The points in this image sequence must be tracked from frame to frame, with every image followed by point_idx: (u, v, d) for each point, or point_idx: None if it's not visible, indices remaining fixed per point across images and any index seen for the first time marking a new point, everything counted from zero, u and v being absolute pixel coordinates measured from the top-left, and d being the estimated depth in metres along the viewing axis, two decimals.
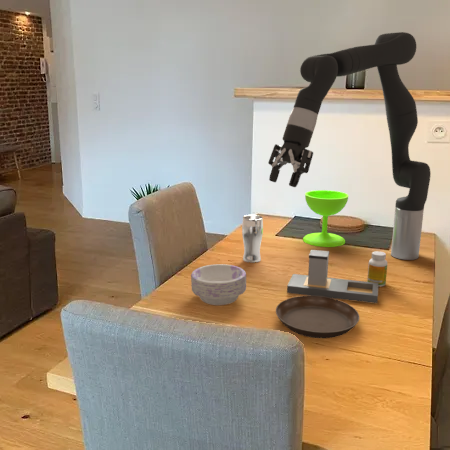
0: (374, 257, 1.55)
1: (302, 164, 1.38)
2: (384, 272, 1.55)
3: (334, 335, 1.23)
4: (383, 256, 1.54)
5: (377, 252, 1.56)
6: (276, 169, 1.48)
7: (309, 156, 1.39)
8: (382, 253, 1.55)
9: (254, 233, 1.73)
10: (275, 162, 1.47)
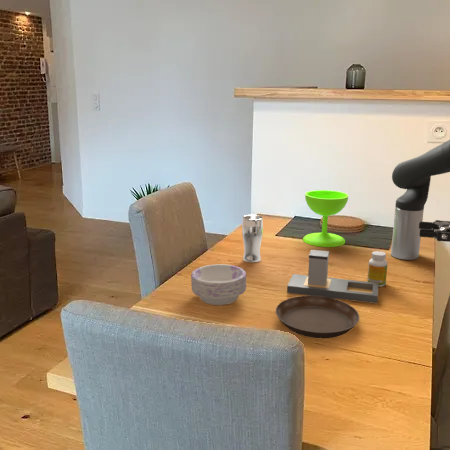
0: (374, 257, 1.55)
1: None
2: (384, 272, 1.55)
3: (334, 335, 1.23)
4: (383, 256, 1.54)
5: (377, 252, 1.56)
6: None
7: None
8: (382, 253, 1.55)
9: (254, 233, 1.73)
10: None
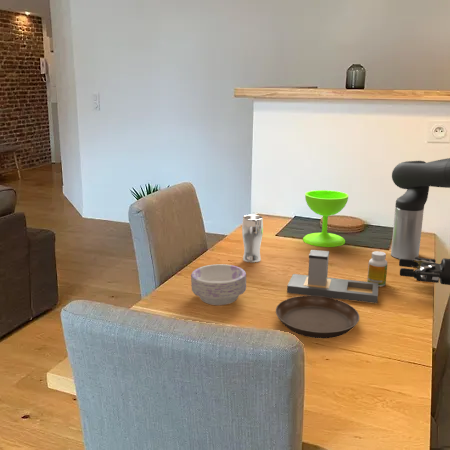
0: (374, 257, 1.55)
1: None
2: (384, 272, 1.55)
3: (334, 335, 1.23)
4: (383, 256, 1.54)
5: (377, 252, 1.56)
6: None
7: None
8: (382, 253, 1.55)
9: (254, 233, 1.73)
10: None
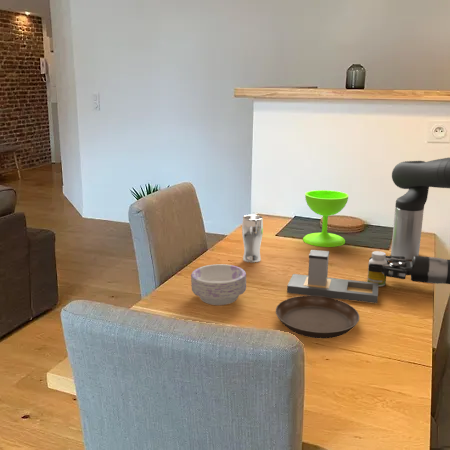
0: (374, 257, 1.55)
1: None
2: None
3: (334, 335, 1.23)
4: (383, 256, 1.54)
5: (377, 252, 1.57)
6: None
7: None
8: (382, 253, 1.55)
9: (254, 233, 1.73)
10: None
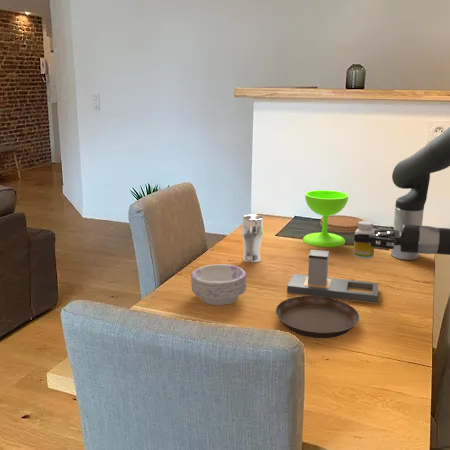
0: (360, 227, 1.43)
1: None
2: None
3: (334, 335, 1.23)
4: (370, 225, 1.43)
5: (364, 221, 1.45)
6: None
7: None
8: (369, 223, 1.44)
9: (254, 233, 1.73)
10: None
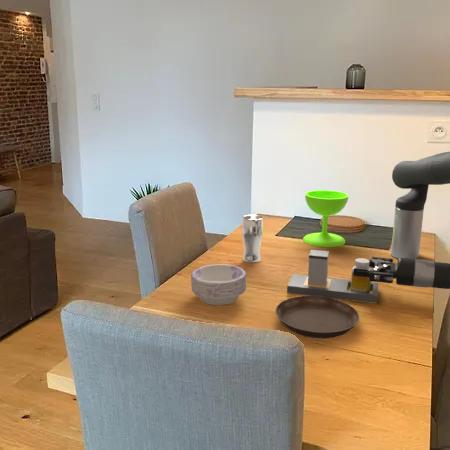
0: (357, 265, 1.47)
1: None
2: (368, 280, 1.47)
3: (334, 335, 1.23)
4: (367, 263, 1.46)
5: (361, 259, 1.48)
6: None
7: None
8: (365, 261, 1.47)
9: (254, 233, 1.73)
10: None
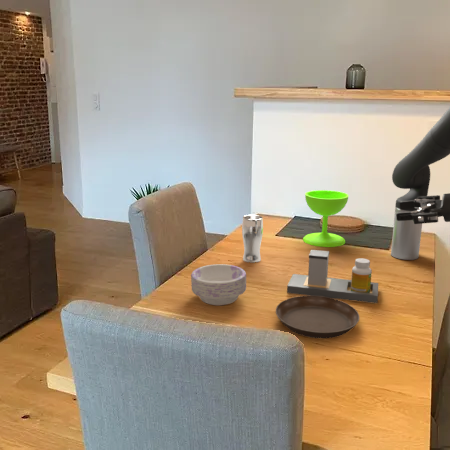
0: (357, 265, 1.46)
1: None
2: (368, 280, 1.47)
3: (334, 335, 1.23)
4: (367, 264, 1.46)
5: (361, 259, 1.48)
6: None
7: None
8: (366, 261, 1.47)
9: (254, 233, 1.73)
10: None
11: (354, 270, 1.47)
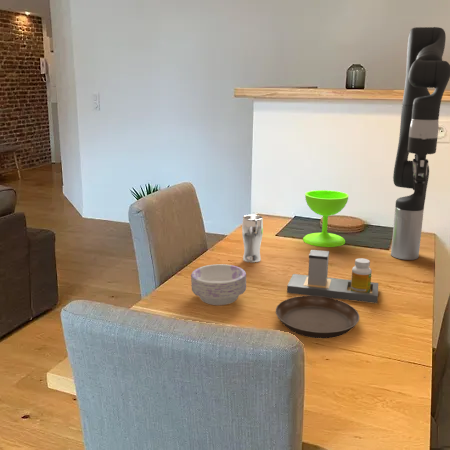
0: (357, 265, 1.47)
1: None
2: (368, 280, 1.47)
3: (334, 335, 1.23)
4: (367, 264, 1.46)
5: (361, 259, 1.48)
6: None
7: None
8: (366, 261, 1.47)
9: (254, 233, 1.73)
10: None
11: (354, 270, 1.47)
